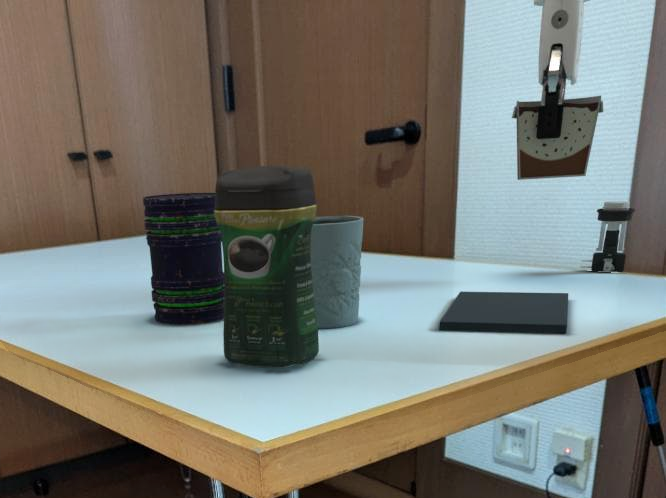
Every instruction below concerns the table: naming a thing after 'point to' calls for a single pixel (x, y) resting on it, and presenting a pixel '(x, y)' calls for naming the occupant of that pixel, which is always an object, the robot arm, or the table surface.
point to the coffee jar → (267, 265)
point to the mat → (507, 312)
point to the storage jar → (185, 258)
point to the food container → (556, 139)
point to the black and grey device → (611, 237)
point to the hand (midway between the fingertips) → (549, 137)
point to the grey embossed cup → (336, 269)
